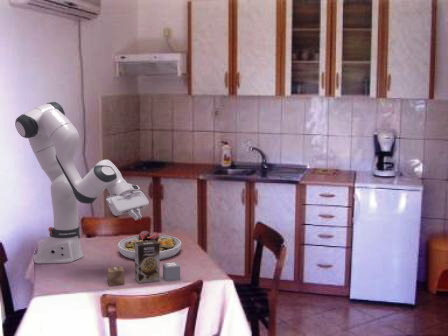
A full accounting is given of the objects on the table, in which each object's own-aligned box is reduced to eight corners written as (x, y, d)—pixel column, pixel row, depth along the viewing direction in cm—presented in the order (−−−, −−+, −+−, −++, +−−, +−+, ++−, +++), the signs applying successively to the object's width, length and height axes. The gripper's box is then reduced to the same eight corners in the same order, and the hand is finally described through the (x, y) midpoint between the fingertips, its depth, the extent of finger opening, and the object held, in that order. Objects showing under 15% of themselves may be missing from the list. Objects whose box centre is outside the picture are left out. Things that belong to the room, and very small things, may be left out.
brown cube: (109, 286, 234) (109, 271, 233) (107, 281, 240) (107, 267, 239) (124, 285, 236) (124, 270, 235) (122, 280, 242) (121, 265, 241)
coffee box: (138, 283, 237) (138, 245, 234) (134, 278, 243) (134, 241, 240) (160, 280, 241) (159, 243, 238) (155, 276, 247) (155, 239, 244)
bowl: (189, 258, 271) (189, 242, 269) (125, 266, 260) (125, 249, 259) (171, 241, 298) (171, 226, 297) (112, 247, 287) (112, 232, 286)
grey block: (166, 281, 240) (165, 267, 239) (162, 276, 246) (162, 262, 245) (180, 280, 242) (180, 265, 241) (176, 275, 248) (176, 261, 247)
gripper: (108, 192, 237) (126, 219, 234) (140, 185, 254) (158, 210, 251) (100, 201, 240) (117, 228, 237) (133, 193, 257) (149, 218, 254)
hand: (138, 218), depth 244 cm, fingers closed
